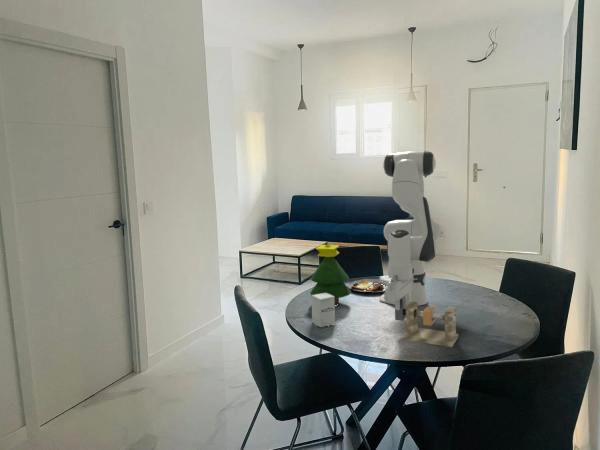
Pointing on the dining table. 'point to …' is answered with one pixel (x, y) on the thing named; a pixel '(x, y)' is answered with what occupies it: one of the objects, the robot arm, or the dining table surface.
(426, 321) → the spacer
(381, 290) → the food plate
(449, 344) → the shaft stand
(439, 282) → the dining table surface
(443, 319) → the shaft
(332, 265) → the decorative tree
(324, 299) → the supplement box
